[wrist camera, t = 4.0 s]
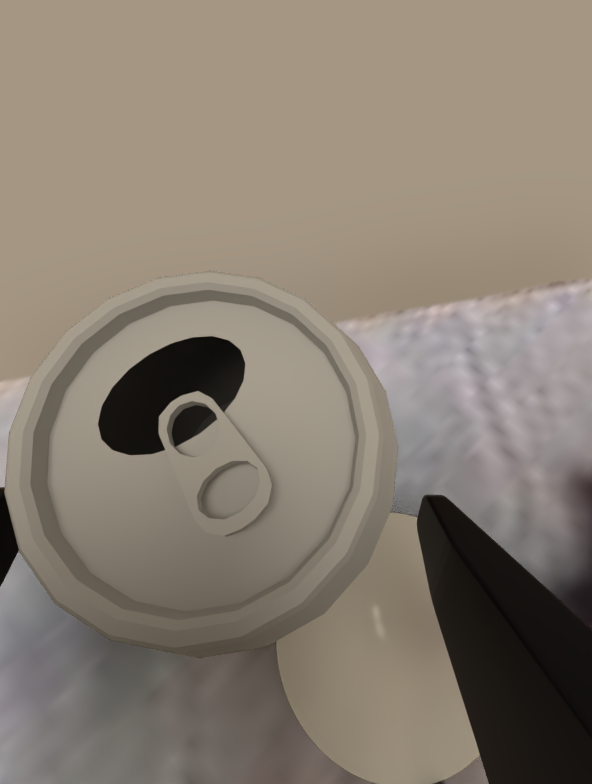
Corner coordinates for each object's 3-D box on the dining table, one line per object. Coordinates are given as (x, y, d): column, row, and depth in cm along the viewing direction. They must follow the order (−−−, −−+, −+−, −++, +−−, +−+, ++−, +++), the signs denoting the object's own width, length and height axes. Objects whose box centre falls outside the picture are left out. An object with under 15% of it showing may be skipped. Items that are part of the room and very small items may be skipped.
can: (283, 370, 18) (255, 169, 7) (372, 489, 17) (532, 488, 5) (160, 453, 17) (-118, 378, 6) (241, 590, 16) (78, 873, 4)
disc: (547, 741, 14) (554, 748, 14) (306, 811, 13) (306, 820, 13) (460, 490, 17) (464, 490, 16) (256, 540, 16) (255, 541, 16)
